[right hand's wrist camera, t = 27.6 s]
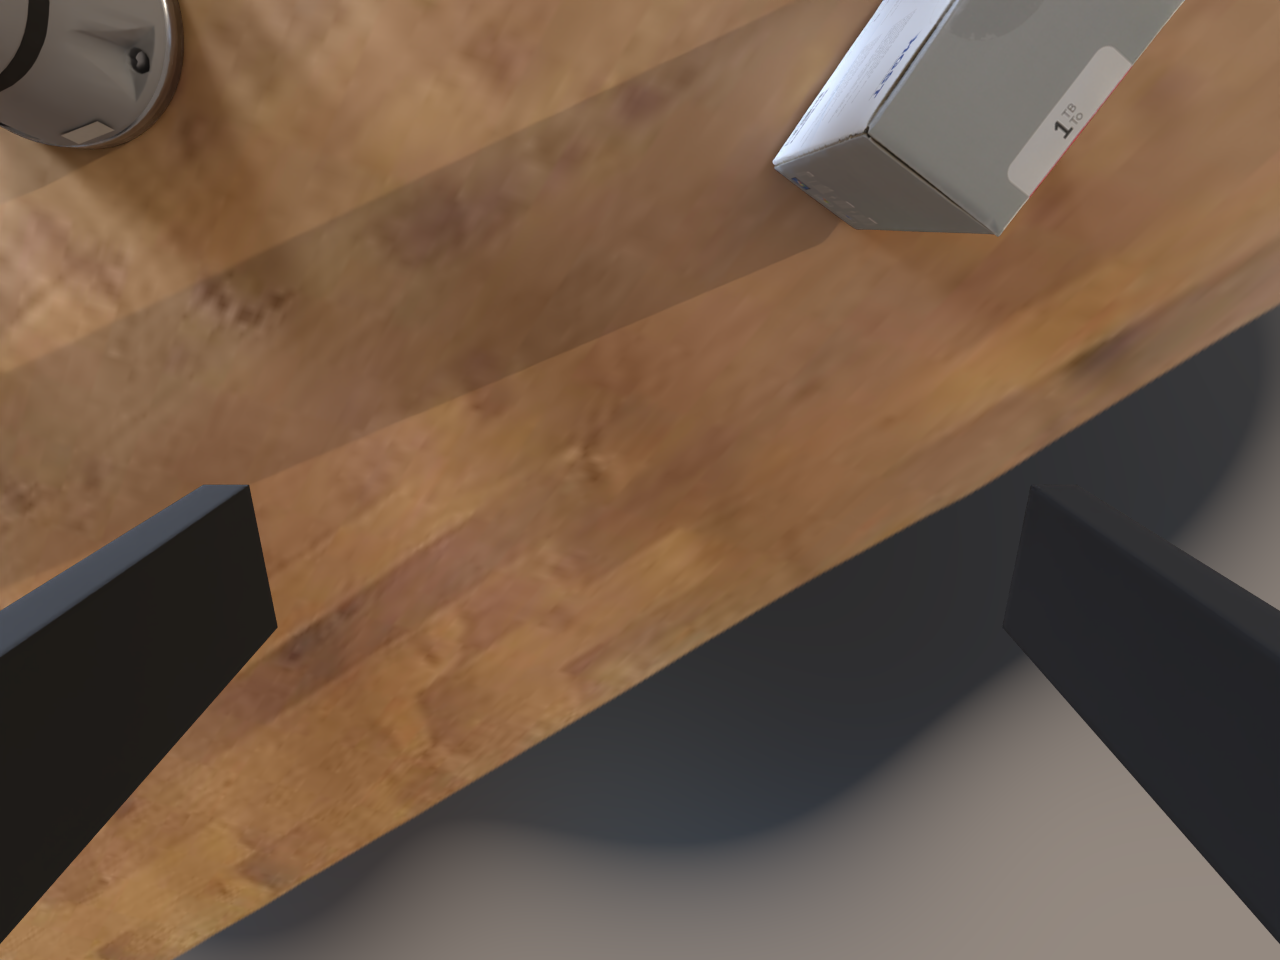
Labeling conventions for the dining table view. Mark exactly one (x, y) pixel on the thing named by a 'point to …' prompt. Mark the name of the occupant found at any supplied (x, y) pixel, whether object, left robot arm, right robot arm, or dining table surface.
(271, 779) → the dining table surface
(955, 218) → the hard drive box
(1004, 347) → the dining table surface
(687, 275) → the dining table surface
